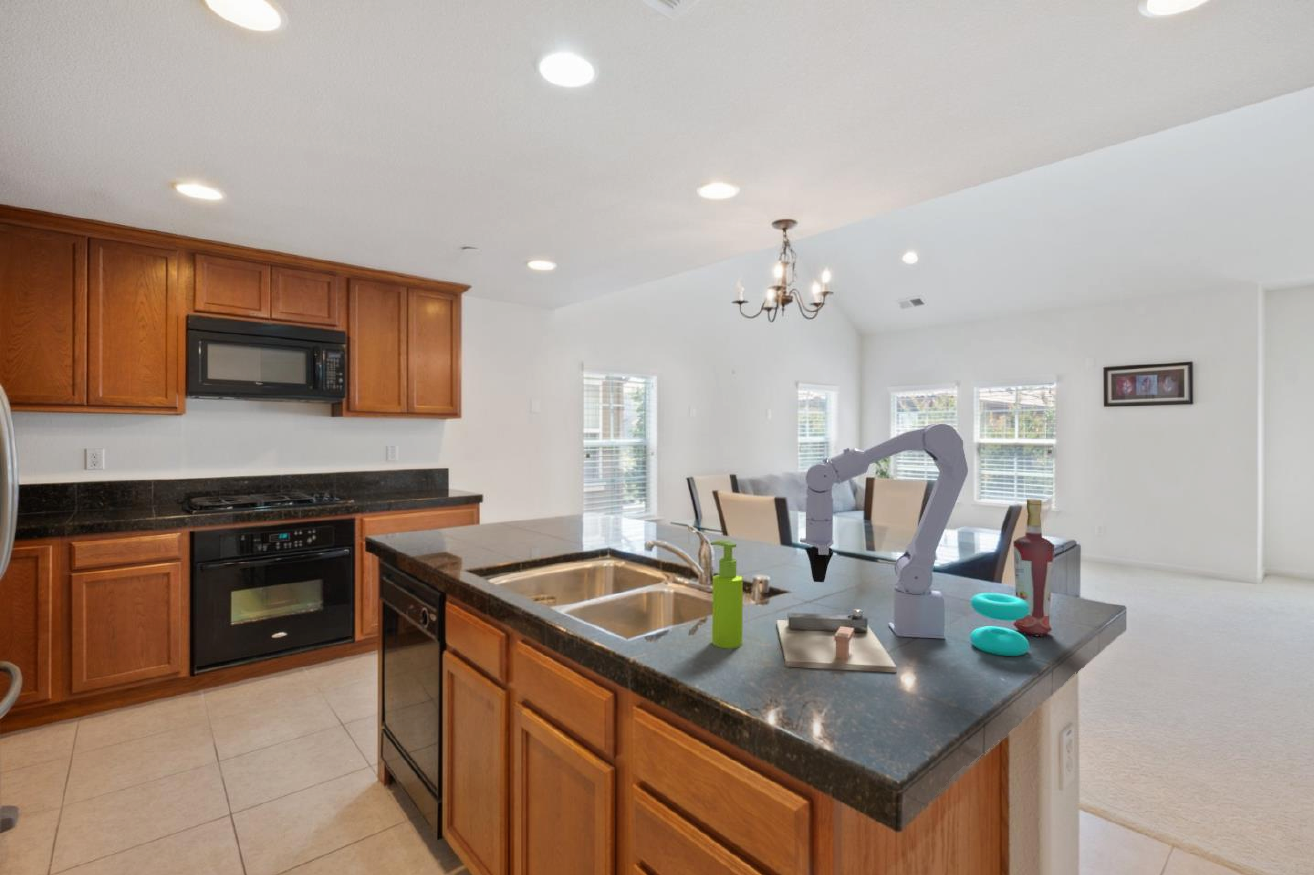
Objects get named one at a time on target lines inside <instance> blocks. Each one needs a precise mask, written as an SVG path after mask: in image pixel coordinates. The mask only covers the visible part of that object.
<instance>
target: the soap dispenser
mask: <svg viewBox="0 0 1314 875" xmlns="http://www.w3.org/2000/svg"><path fill="white" fill-rule="evenodd" d="M709 544H710V546H721V547H723V557H721V558H719V562H718V565H719V566H718V567H719V568H718V569H719V570H718V574H715V575H713V576H712V630H711V631H712V632H711V634H712V635H711V637H712V642H711V643H712V645H713V646H715V647H717V648H721V649H736V648H739V647H741V646H742V645H743V600H744V598H743V594H744V593H743V587H744V586H743V585H744V584H743V583H744V582H743V580H744V579H743V577H742V576H741V575H738V574H737V559H735V558H734V557H733V548H737V543H734V542H731V541H727V540H719V541H714V542H709Z"/></svg>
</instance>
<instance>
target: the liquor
mask: <svg viewBox="0 0 1314 875" xmlns="http://www.w3.org/2000/svg"><path fill="white" fill-rule="evenodd" d="M1042 502H1043V501H1042V499H1037V498H1036V499H1035V498H1034V499H1033V498H1028V499H1027V498H1026V510H1027V519H1026V528H1025V534H1024V536H1020V537H1018V538H1017V539H1015V540H1013V564H1014V565H1013V567H1014V569H1013V570H1014V571H1013V572H1014V584H1015V585H1014V588H1015V591H1014V592H1015V597H1018V598H1021V599H1023V600H1024V601H1025V602H1026V603H1027V604H1028V605H1029V608H1030V611H1029V613H1028V615H1027V616H1026V617H1024V618H1022V619H1019V620H1014V622H1013V626H1014V627H1015V628H1016V630H1018V632H1019V633H1021V632H1022V633H1021V634H1023V633H1025V634H1024V635H1026V634H1028V635H1027V636H1031V635H1038V636H1037V637H1042V636H1041V635H1044V636H1046V635H1047V634H1048V633H1050V632H1052V630H1053V629H1052V627H1051V626H1050V615H1051V614H1050V611H1051V610H1050V609H1051V593H1052V582H1053V581H1052V580H1053V571H1054V554H1055V552H1054V551H1055V544H1054V543H1052V542H1051V541H1050V540H1048V539H1046V538H1045V537H1043V532H1042V521H1041V512H1042Z"/></svg>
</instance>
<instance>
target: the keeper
mask: <svg viewBox="0 0 1314 875" xmlns="http://www.w3.org/2000/svg"><path fill="white" fill-rule="evenodd" d="M853 635H854V628H849V627H842V626H841V627H840V628H839V629H838V631H837V632H836V634H835V635H834V641H836V658H841V659H846V660H847V659H848V657H849V642H850V640H851V638H852V636H853Z"/></svg>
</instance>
